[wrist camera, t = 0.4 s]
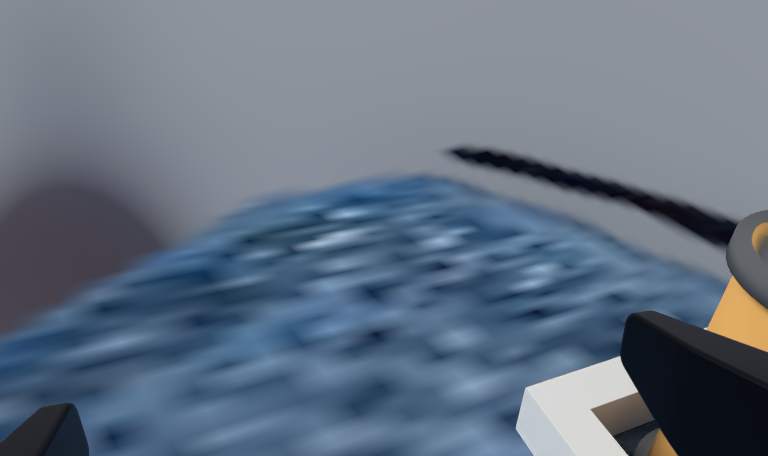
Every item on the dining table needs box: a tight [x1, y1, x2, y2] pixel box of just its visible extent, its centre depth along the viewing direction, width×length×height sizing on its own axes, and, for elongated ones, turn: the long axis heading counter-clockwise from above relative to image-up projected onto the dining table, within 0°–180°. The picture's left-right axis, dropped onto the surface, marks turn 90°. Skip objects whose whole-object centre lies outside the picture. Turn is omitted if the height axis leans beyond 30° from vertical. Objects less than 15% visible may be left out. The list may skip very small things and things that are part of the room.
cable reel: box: [633, 210, 768, 456], centre depth 22 cm, size 6×6×13 cm
